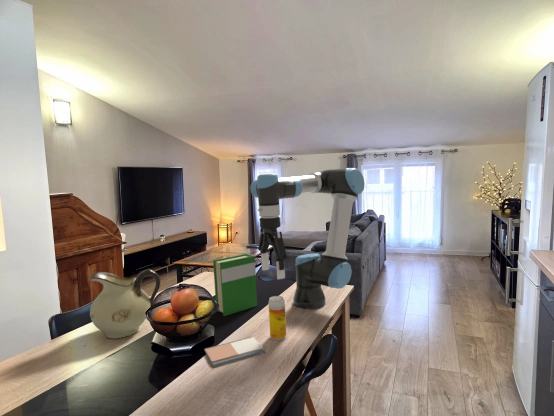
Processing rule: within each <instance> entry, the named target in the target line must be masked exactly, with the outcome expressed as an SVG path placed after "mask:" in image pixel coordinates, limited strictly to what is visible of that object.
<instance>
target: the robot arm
mask: <svg viewBox="0 0 554 416" xmlns="http://www.w3.org/2000/svg"><path fill="white" fill-rule="evenodd" d="M256 178H257V179H256V180H253V181H252V182H251V184H250V187H249V188H250V193H251V195H252V196H253V197H254V198H257V200H258V208H257V211H258V216H259V217H260V218H259V228H260V230H259V231H260V233H259V242H258V248H257V249H258V251H259V252H260V253H261V254H260V257H261V260H260V261H261V271H267V270H270V263H269V262H270V259H269V257H270V256H269V252H270V251H269V247H270V246H271V247H272V248H273V252H274V255H275V257H276V259H275V263H276V278H277V280H283V279H286V270H285V269H286V268H285V260H288V255H287V251H286V247H285V243H284V240H283V232H282V231H278V228H279V229H280V228H281V217H280V215H281V210H280V209H281V208H280V207H281V206H280V200H282V199H294V198H298V197H299V196H301V194H303V193H312V194H317V193H318V194H319V193H320V194H330V195H331V197H332V198H333V204H332V211H331V216H330V221H329V222H330V223H329V229H328V235H327V242H326V247H325V251H324V252H323V253H321V255H320V254H319V253H308V254H307V253H306V254H301V255H298V256H297V257H295V265H294V267H295V282H296V283H295V284H296V286H295V287H296V289H295V292H294V294H293V305H294V306H295V307H297V308H301V309H308V310H309V309H317V308H321V307H323V306H325V304H327V303H326V296H325V293H324V291H323V287H322V286H324V287H329V288H330V289H339V290H340V289H343V288H344V287H346V285H348V284H349V282H350V280H351V277H352V273H353V272H352V266H351V264H350V263H348V261H349V260H348V259H349V258H348V257H347V256H346V251H347V244H348V237H349V230H350V224H351V218H352V212H353V211H352V210H353V206H354V205H353V204H354V202H355V201H356V200H357V199H358V195H360V194H362V193H363V191H364V190H365V178H364V175H363V173H362V172H361V170H359V169H358V168H355V167H347V168H337V169H336V168H334V169H333V168H331V169H325V170H322V171H317V172H311V173H308V175H307V174H306V175H296V176H290V177H289V176H288V177H287V176H286V177H279V175H278V174H277V173H269V174H268V173H266V174H259V175H258V176H257V177H256Z"/></svg>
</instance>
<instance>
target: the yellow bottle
mask: <svg viewBox="0 0 554 416" xmlns="http://www.w3.org/2000/svg"><path fill="white" fill-rule="evenodd" d="M268 319H269V320H268V321H269V337H270V338H271V339H272V340H274V341H282V340H284V339H285V338H286V336H287V320H286V319H287V318H286V301H285V299H284V296H281V295H273V296H271V297H269V300H268Z"/></svg>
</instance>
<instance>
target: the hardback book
mask: <svg viewBox="0 0 554 416" xmlns="http://www.w3.org/2000/svg"><path fill="white" fill-rule="evenodd" d="M255 257H256V256H255V255H253V254H249V253H242V254H238V255H232V256H228V257H224V258H218V259H213V260H212V264H213V279H214V280H213V281H214V293H215V297H214V298H215V303H216V302H217V303H218V304H219V308H218V311H217V312H216V313H219V312H221V313H222V316H223V317H227V316H229V315H232V314H236V313H238V312H242V311H245V310H248V309H252V308H255V307H257V306H258V295H257V294H258V293H257V277H256V276H257V275H256V258H255Z"/></svg>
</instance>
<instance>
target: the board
mask: <svg viewBox="0 0 554 416" xmlns="http://www.w3.org/2000/svg"><path fill="white" fill-rule="evenodd" d="M204 352H205V355H206V356H207V358H208V360H209V362H210V363H211V365H212V368H216V367H220V366H223V365H225V364H226V365H227V364H230V363H232V362H233V363H234V362H237V361H240V360H244V359H247V358H251V357H253V356H258V355H261V354H265V353H266V351H265V349H264V347H263V345H261V344H260V343H259V341H258V340H257V339H256V338H255V337H253V336H250V337H245V338H242V339H238V340H234V341H231V342H225V343H221V344H218V345H214V346H210V347H206V348H204Z"/></svg>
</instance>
